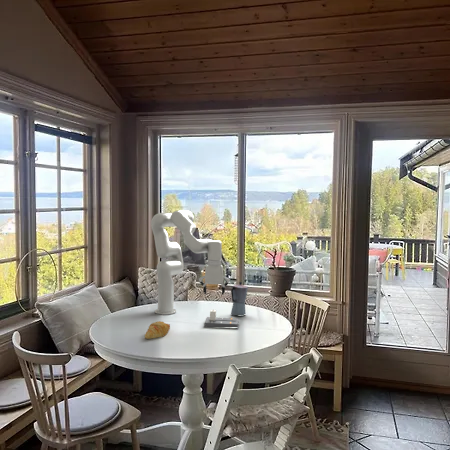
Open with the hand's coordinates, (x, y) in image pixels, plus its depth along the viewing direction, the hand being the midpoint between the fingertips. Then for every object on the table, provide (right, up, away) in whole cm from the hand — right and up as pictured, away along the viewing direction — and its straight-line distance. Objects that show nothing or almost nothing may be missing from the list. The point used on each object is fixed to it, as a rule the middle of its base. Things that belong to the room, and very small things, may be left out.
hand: (214, 294), depth 252 cm
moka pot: (+14, -16, +23) cm, 32 cm away
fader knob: (-1, -17, +1) cm, 17 cm away
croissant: (-28, -18, -20) cm, 39 cm away
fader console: (+4, -17, +1) cm, 18 cm away
